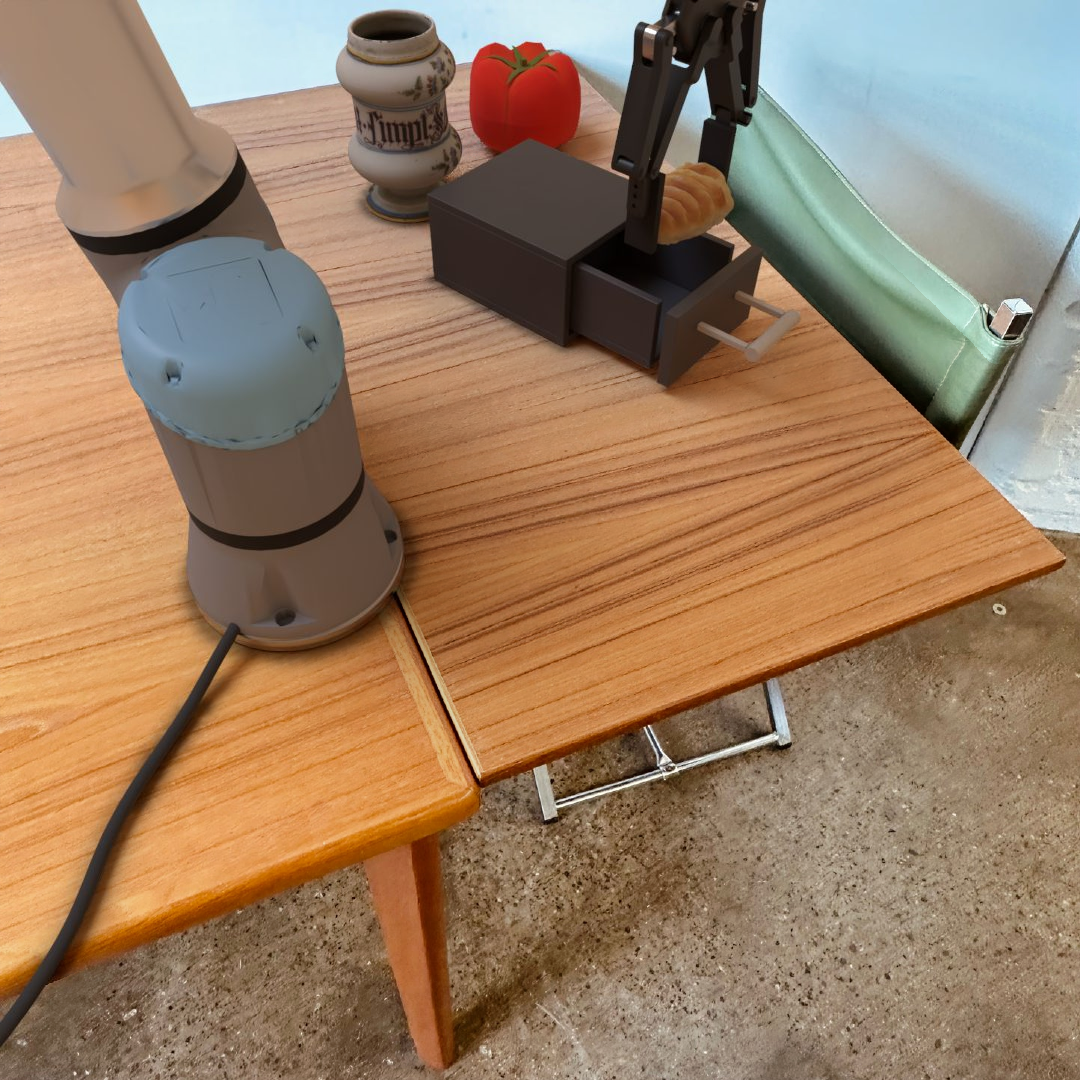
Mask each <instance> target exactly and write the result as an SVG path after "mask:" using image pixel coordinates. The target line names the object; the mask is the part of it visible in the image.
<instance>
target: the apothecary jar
mask: <svg viewBox="0 0 1080 1080" xmlns="http://www.w3.org/2000/svg"><path fill="white" fill-rule="evenodd" d="M346 35H347V39H346V44H345V45H344V46H343V48H341V50H340V52H339V53H338V55H337V58H336V60H335V74H336V77H337V80H338V82H339V84H340V86H341V87H342V88H343V90H345V92H347V93H348V94H349V95H351V99H352V104H353V113H354V119H355V128H356V129H355V130H354V132H353V133H352V135H351V136H350V138H349V141H348V145H347V155H348V160H349V163H350V164H351V167H353V169H354V170H355V171H356V173H357V174H359V175H360V176H361V178H363V179H365V180H366V181H368V182H369V183H372V185H370V187H369V189H368V193H369V194H367V196H366V197H365V200H364V201H365V204H366V207H367V209H368V211H369V212H371V213H372V214H373V215H375V216H377V217H379V218H381V219H383V220H386V221H390V222H393V223H394V222H395V223H403V224H404V223H405V224H410V223H419V222H425V221H429V212H428V199H427V194H428V193H430V192H432V191H433V190H435V189H437V188H439V187H441V186H443V185H444V184H446V183H448V182H447V181H446V180H444V179H445V178H447V177H448V176H449V175H450V174H452V173H453V172H454V170H455V169H457V167H458V166H459V164H460V162H461V159H462V155H463V142H462V138H461V136H460V134H459V133H458V131H457V130H456V129H455V127H454V126H453V125H452V124H451V123H450V122H449V115H448V106H447V94H446V89H448V87H449V86H450V85H451V84H452V83H453V81H454V78H455V76H456V72H457V64H456V63H457V62H456V59H455V56H454V54H453V52H452V51H451V49H450V48H449V47H448V45H446V43H444V42H443V41H442V40H441V39H440V38H439V36H438V33H437V25H436V23H435V21H434V19H433V18H432V17H431V16H429V15H427V14H426V13H423V12H420V11H416V10H410V9H403V8H402V9H401V8H400V9H399V8H390V9H381V10H380V9H379V10H374V11H370V12H367V13H364V14H361V15H359V16H358V17H355V18H354V19H353V20H352V21H350V23H349V25H348V27H347V34H346Z"/></svg>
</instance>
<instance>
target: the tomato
mask: <svg viewBox="0 0 1080 1080" xmlns="http://www.w3.org/2000/svg"><path fill="white" fill-rule="evenodd" d="M511 47H512V49H510V48H509V47H508V46H506V45H505V44H503V43H500V42H497V41H495V42H492V43H489V44H486V45H485V46H483V47H481V48H479V49H478V51H477V53H476V55H475V57H474V58H473V60H472V64H471V69H470V75H469V102H468V107H469V109H468V110H469V119H470V124H471V128H472V131H473V133H474V134H475V135H476V136H477V138H478V139H479V141H481V142H482V144H483V145H484V146H486V147H488V148H489V149H492V150H494V151H496V152H499V153H503V152H505V151H507V150H509V149H510V148H512V147H514V146H516V145H518V144H520V143H521V142H523V141H525V140H527V139H529V138H530V139H532V140H535V141H537V142H540V143H542V144H544V145H547V146H549V147H552V148H554V149H557V148H558V147H559V146H562V145H565V144H567V143H569V142H570V141H571V140H572V139H573V138H574V137H575V135H576V133H577V129H578V127H579V122H580V118H581V109H582V108H581V107H582V86H581V80H580V75H579V72H578V70H577V67H576V65H575V63H574V62H573V60H572V58H571V57H570V55H567V54H564V53H560V50H556V49H555V50H551V49H547V48H546V47H545V46H544V44H543V42H534V41H524V42H523V43H521V44H519V45H517V46H514V45H511ZM551 52H552V53H553V52H556V53H554V54H552V55H550V53H551Z"/></svg>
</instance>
